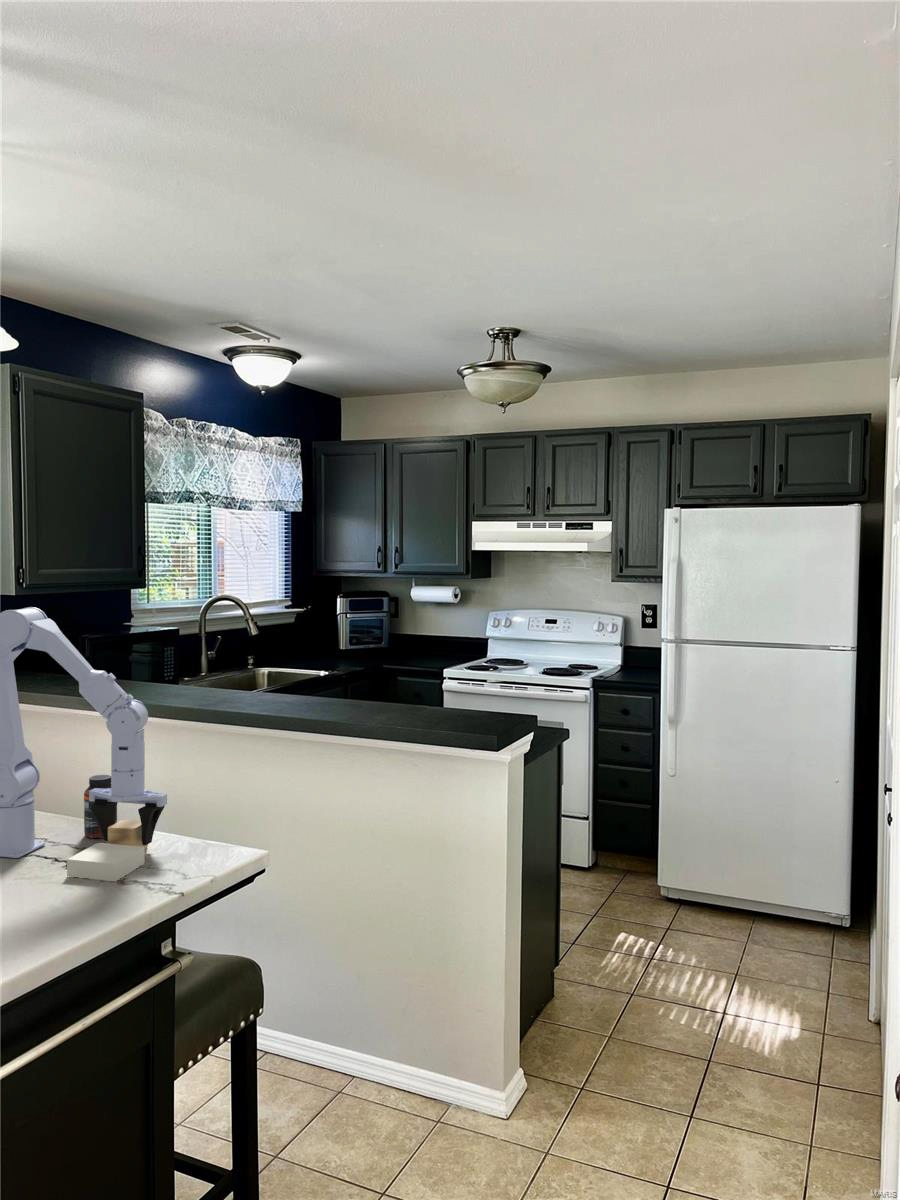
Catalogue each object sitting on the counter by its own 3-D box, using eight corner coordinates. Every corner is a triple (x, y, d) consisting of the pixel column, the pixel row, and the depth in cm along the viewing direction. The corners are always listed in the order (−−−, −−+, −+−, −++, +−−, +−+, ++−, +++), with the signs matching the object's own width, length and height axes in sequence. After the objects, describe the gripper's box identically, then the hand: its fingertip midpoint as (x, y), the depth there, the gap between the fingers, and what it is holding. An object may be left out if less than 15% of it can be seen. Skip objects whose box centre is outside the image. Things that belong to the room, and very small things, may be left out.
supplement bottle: (122, 830, 176) (122, 773, 176) (108, 840, 170) (108, 781, 170) (93, 829, 177) (93, 772, 176) (78, 839, 171) (77, 780, 170)
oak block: (107, 854, 163) (107, 827, 163) (123, 845, 168) (123, 819, 167) (133, 856, 162) (133, 829, 162) (147, 848, 167) (147, 821, 166)
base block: (67, 876, 151) (66, 859, 151) (98, 859, 160) (98, 842, 160) (115, 881, 149) (115, 863, 149) (144, 863, 158) (144, 846, 158)
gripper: (79, 770, 161) (79, 845, 162) (152, 776, 159) (152, 852, 159) (101, 762, 168) (101, 833, 169) (173, 767, 166) (172, 839, 166)
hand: (128, 841), depth 165 cm, fingers open, 7 cm apart
